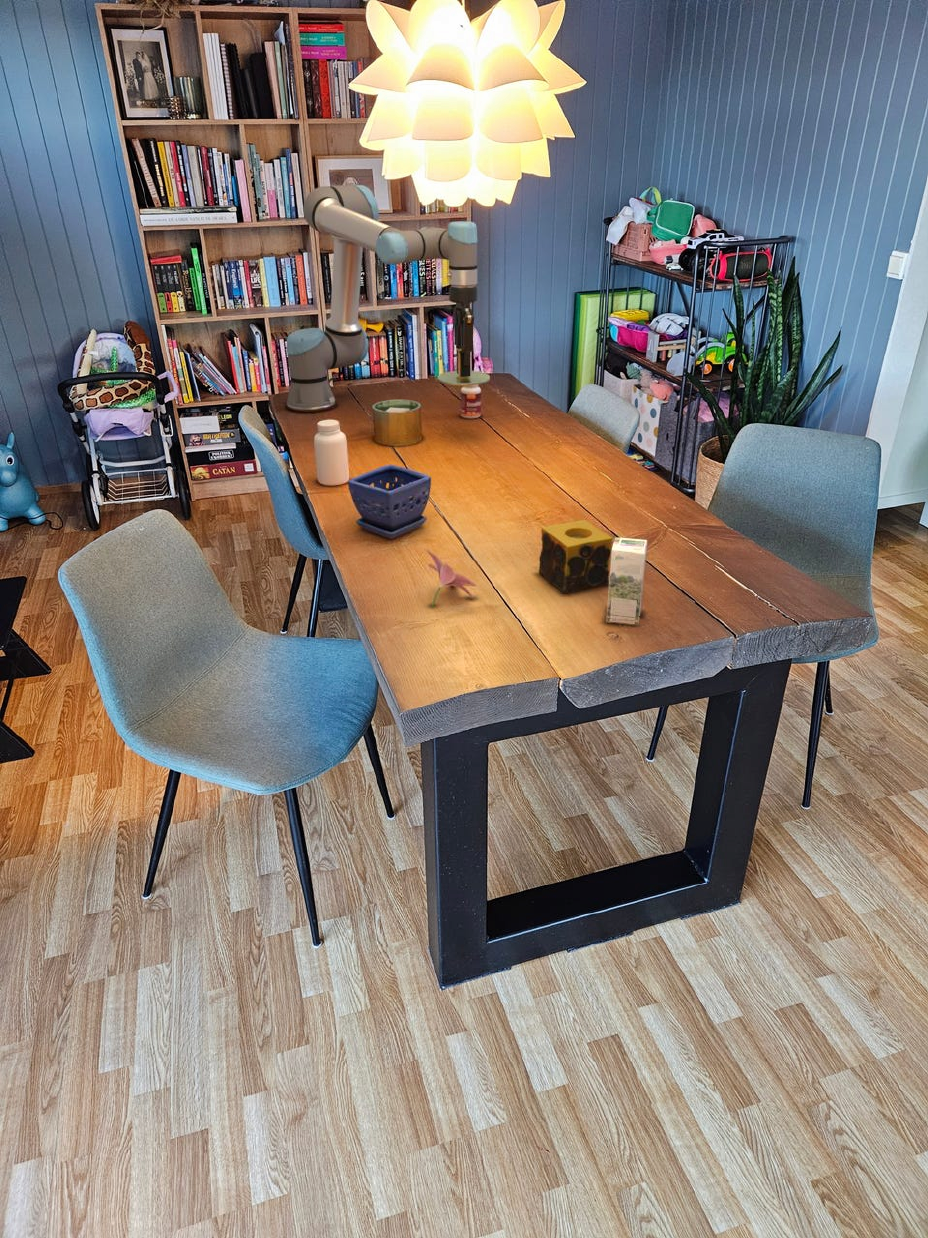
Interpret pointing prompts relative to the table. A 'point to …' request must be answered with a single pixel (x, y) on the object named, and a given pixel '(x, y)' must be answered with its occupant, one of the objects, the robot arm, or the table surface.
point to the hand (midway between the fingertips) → (463, 374)
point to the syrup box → (626, 580)
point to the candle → (575, 556)
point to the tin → (397, 423)
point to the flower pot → (390, 500)
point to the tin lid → (456, 380)
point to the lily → (449, 576)
